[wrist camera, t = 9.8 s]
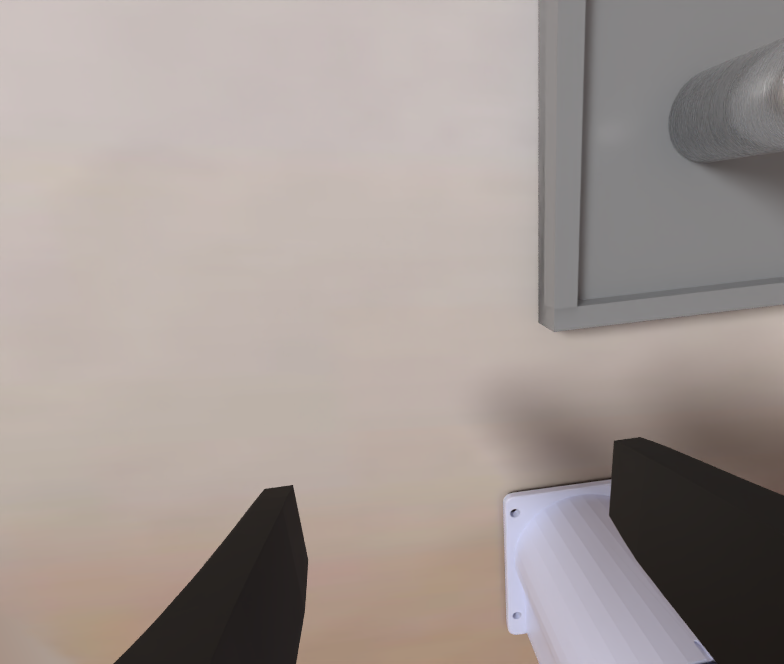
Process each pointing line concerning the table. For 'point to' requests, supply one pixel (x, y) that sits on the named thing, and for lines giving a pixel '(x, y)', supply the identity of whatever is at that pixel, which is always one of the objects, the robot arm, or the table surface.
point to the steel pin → (732, 108)
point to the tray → (648, 167)
